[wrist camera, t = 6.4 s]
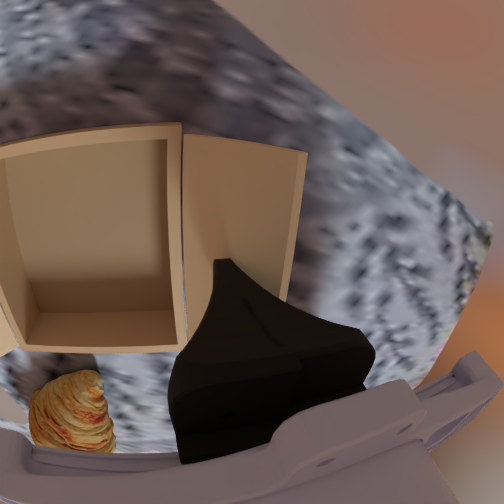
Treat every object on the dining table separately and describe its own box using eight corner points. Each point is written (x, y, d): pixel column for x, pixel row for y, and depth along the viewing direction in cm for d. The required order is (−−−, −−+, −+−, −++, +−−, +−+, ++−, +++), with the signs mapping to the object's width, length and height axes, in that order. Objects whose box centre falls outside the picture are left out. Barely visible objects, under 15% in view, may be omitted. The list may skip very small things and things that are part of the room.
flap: (189, 346, 17) (195, 343, 18) (260, 405, 14) (266, 400, 14) (183, 134, 12) (193, 133, 12) (298, 152, 8) (307, 152, 9)
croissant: (73, 321, 23) (15, 358, 15) (157, 391, 23) (116, 451, 15) (47, 418, 28) (15, 448, 20) (103, 464, 28) (77, 501, 20)
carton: (183, 311, 21) (188, 350, 17) (38, 314, 18) (22, 350, 14) (180, 121, 15) (181, 125, 12) (0, 143, 12) (-35, 156, 8)
